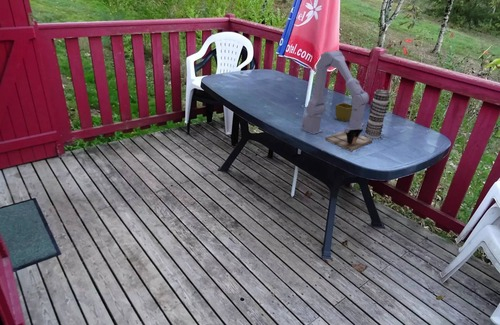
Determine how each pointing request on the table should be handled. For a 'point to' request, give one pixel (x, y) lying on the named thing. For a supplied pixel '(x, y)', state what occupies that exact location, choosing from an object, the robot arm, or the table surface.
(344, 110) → the flower pot
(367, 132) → the banded round tower
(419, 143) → the table surface
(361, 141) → the console
